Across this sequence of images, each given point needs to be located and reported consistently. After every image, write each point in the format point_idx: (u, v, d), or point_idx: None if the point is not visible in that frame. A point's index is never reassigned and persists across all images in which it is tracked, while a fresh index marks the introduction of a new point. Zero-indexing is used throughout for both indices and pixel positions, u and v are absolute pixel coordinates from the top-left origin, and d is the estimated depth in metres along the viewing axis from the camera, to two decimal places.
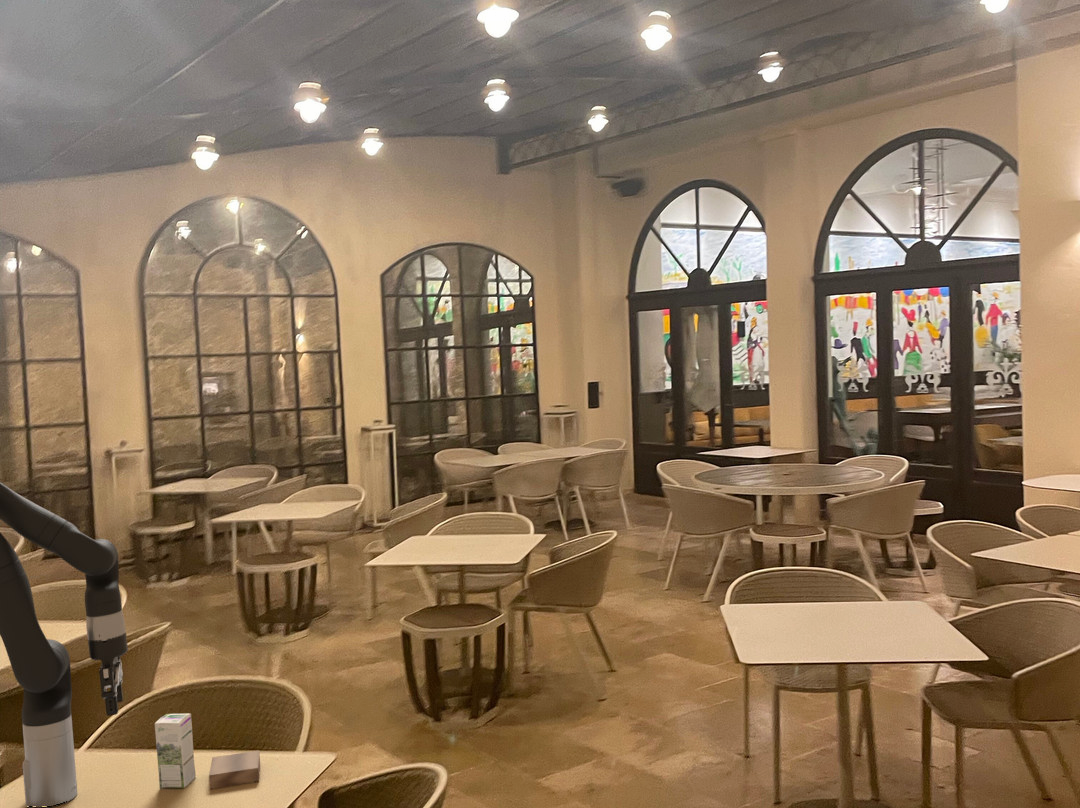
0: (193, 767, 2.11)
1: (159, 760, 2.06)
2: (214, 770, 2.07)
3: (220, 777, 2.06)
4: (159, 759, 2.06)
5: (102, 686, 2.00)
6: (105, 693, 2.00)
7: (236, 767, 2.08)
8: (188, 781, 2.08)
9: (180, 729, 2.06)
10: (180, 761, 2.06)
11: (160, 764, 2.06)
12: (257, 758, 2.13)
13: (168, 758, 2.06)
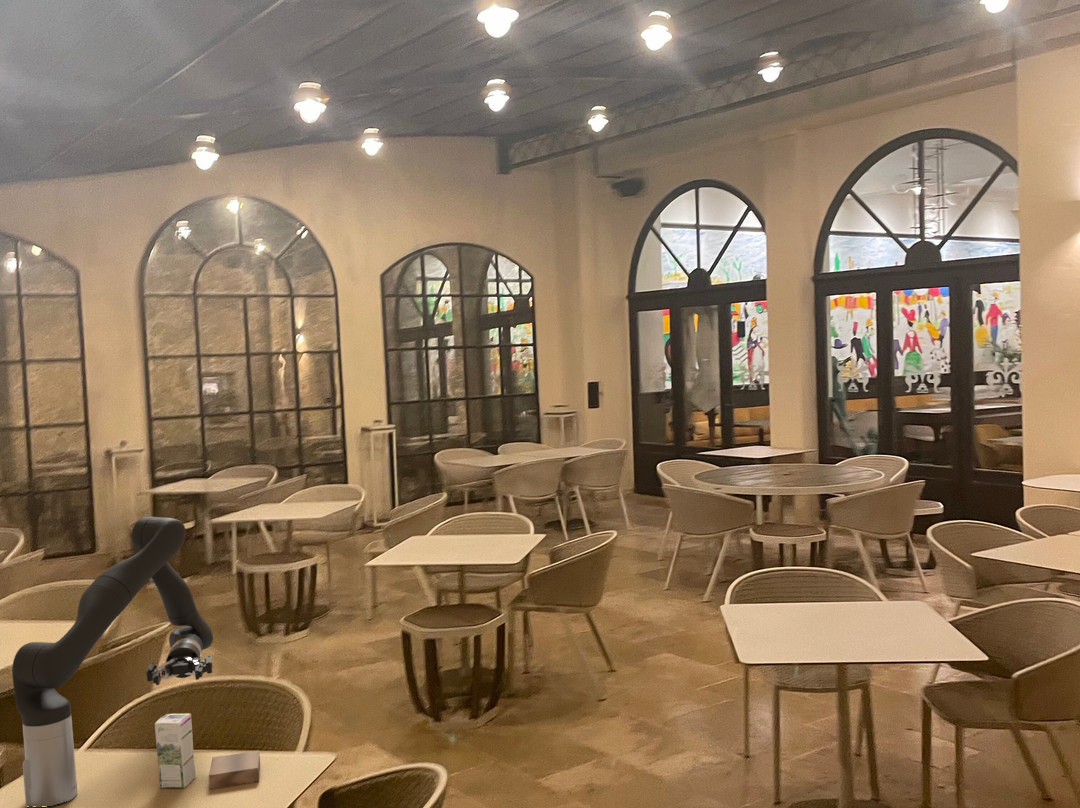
0: (193, 767, 2.11)
1: (159, 760, 2.06)
2: (214, 770, 2.07)
3: (220, 777, 2.06)
4: (160, 759, 2.06)
5: (211, 660, 2.27)
6: None
7: (236, 767, 2.08)
8: (188, 781, 2.08)
9: (180, 729, 2.06)
10: (180, 761, 2.06)
11: (160, 764, 2.06)
12: (257, 758, 2.13)
13: (168, 758, 2.06)
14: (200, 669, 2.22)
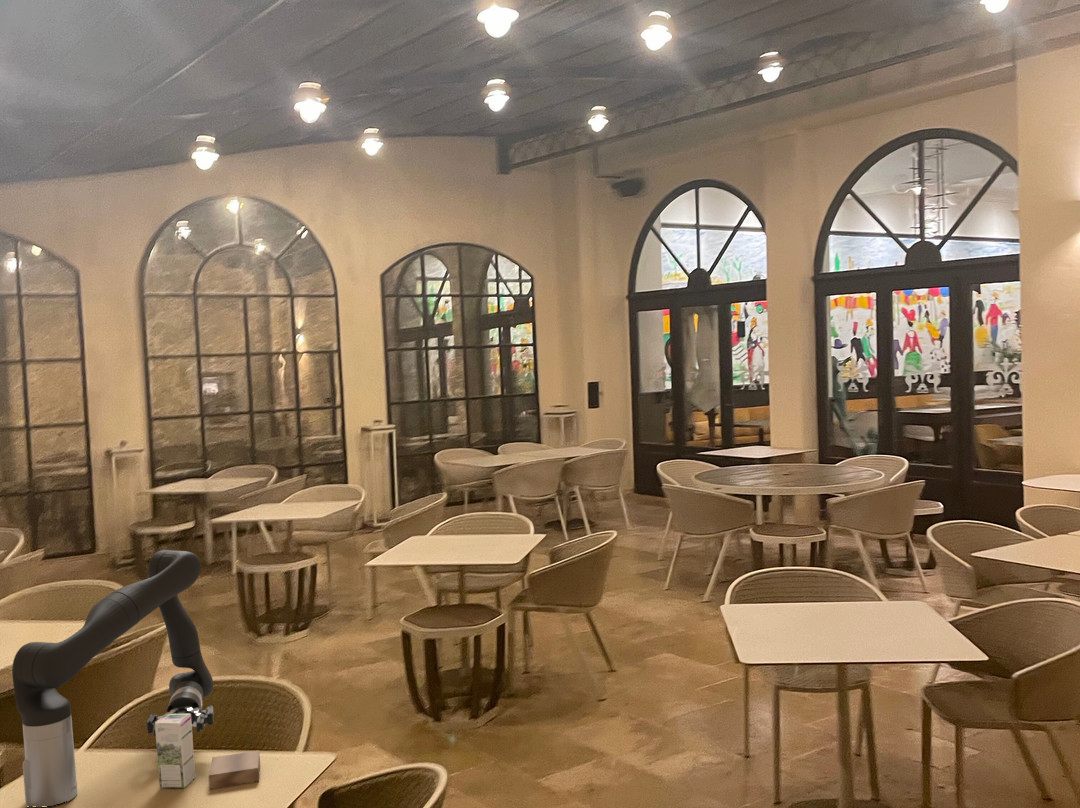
0: (193, 767, 2.11)
1: (159, 760, 2.06)
2: (214, 770, 2.07)
3: (220, 777, 2.06)
4: (160, 759, 2.06)
5: (212, 711, 2.24)
6: None
7: (236, 767, 2.08)
8: (188, 781, 2.08)
9: (180, 729, 2.06)
10: (180, 761, 2.06)
11: (160, 764, 2.06)
12: (257, 758, 2.13)
13: (168, 758, 2.06)
14: (201, 721, 2.19)
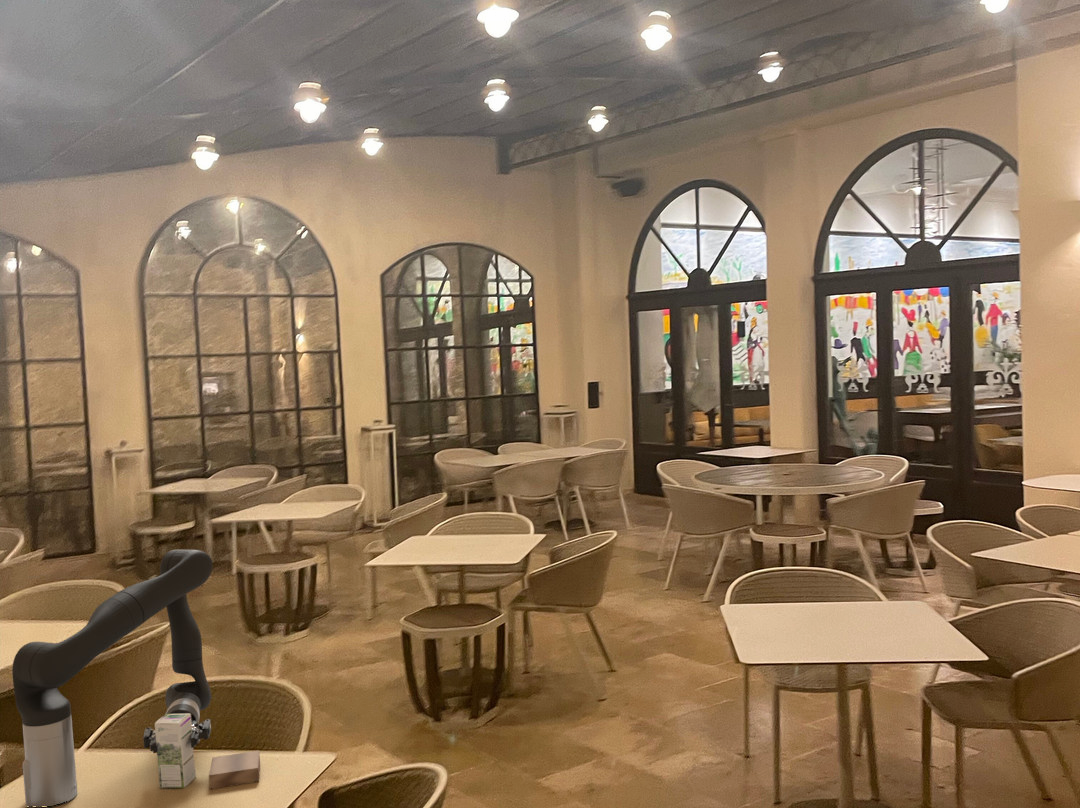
0: (193, 767, 2.11)
1: (159, 760, 2.06)
2: (214, 770, 2.07)
3: (220, 777, 2.06)
4: (159, 759, 2.06)
5: (208, 725, 2.15)
6: None
7: (236, 767, 2.08)
8: (188, 781, 2.08)
9: (180, 729, 2.06)
10: (180, 761, 2.06)
11: (160, 764, 2.06)
12: (257, 758, 2.13)
13: (168, 758, 2.06)
14: (196, 736, 2.10)
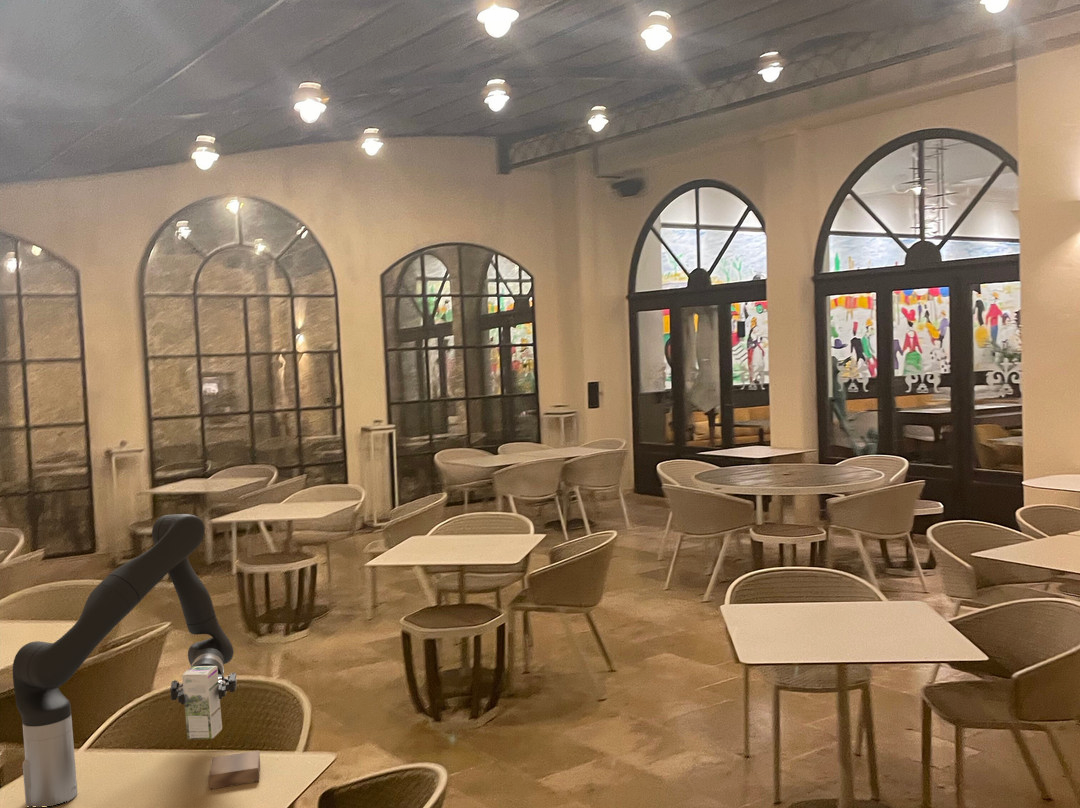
0: (220, 719, 2.12)
1: (187, 711, 2.07)
2: (214, 770, 2.07)
3: (220, 777, 2.06)
4: (187, 711, 2.07)
5: (235, 678, 2.16)
6: None
7: (236, 767, 2.08)
8: (215, 732, 2.09)
9: (208, 680, 2.07)
10: (208, 712, 2.07)
11: (188, 715, 2.08)
12: (257, 758, 2.13)
13: (196, 709, 2.07)
14: (223, 688, 2.11)
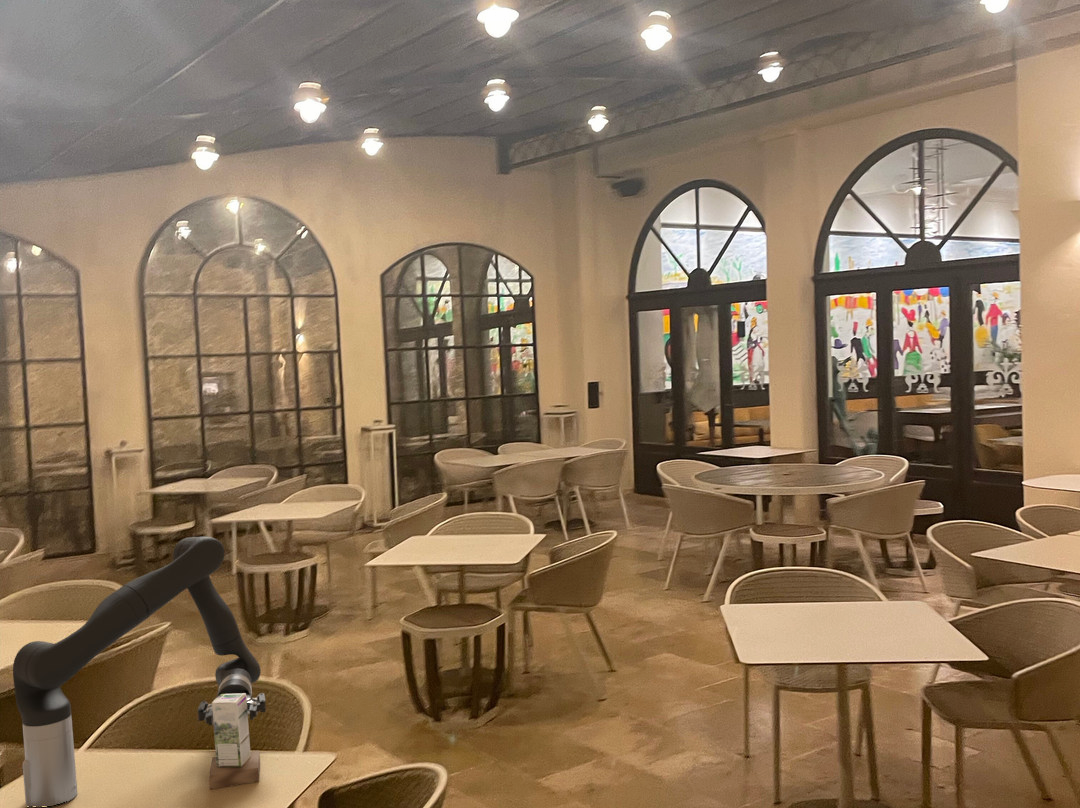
0: (248, 746, 2.13)
1: (216, 739, 2.08)
2: (214, 770, 2.07)
3: (220, 777, 2.06)
4: (217, 738, 2.08)
5: (264, 698, 2.17)
6: None
7: (236, 767, 2.08)
8: (244, 760, 2.10)
9: (237, 708, 2.08)
10: (237, 740, 2.08)
11: (217, 743, 2.08)
12: (257, 758, 2.13)
13: (226, 737, 2.08)
14: (254, 708, 2.12)
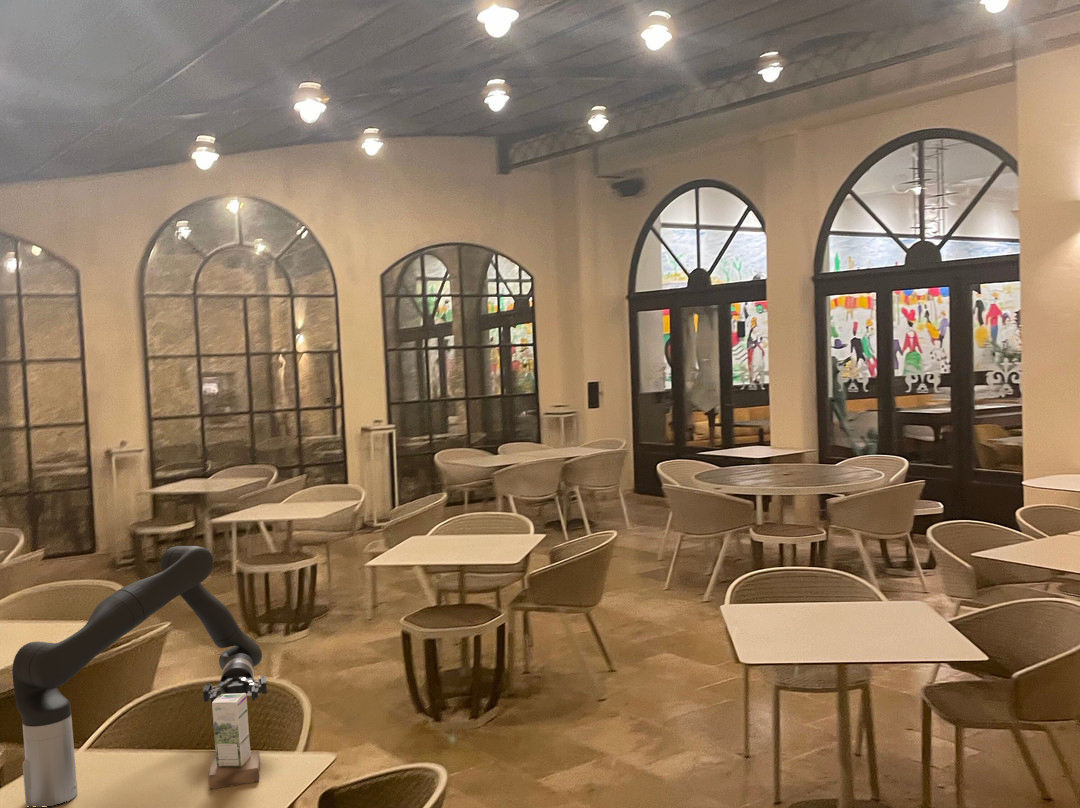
0: (248, 746, 2.13)
1: (216, 739, 2.08)
2: (214, 770, 2.07)
3: (220, 777, 2.06)
4: (217, 738, 2.08)
5: None
6: None
7: (236, 767, 2.08)
8: (244, 760, 2.10)
9: (237, 708, 2.08)
10: (237, 740, 2.08)
11: (217, 743, 2.08)
12: (257, 758, 2.13)
13: (225, 737, 2.08)
14: (256, 690, 2.24)
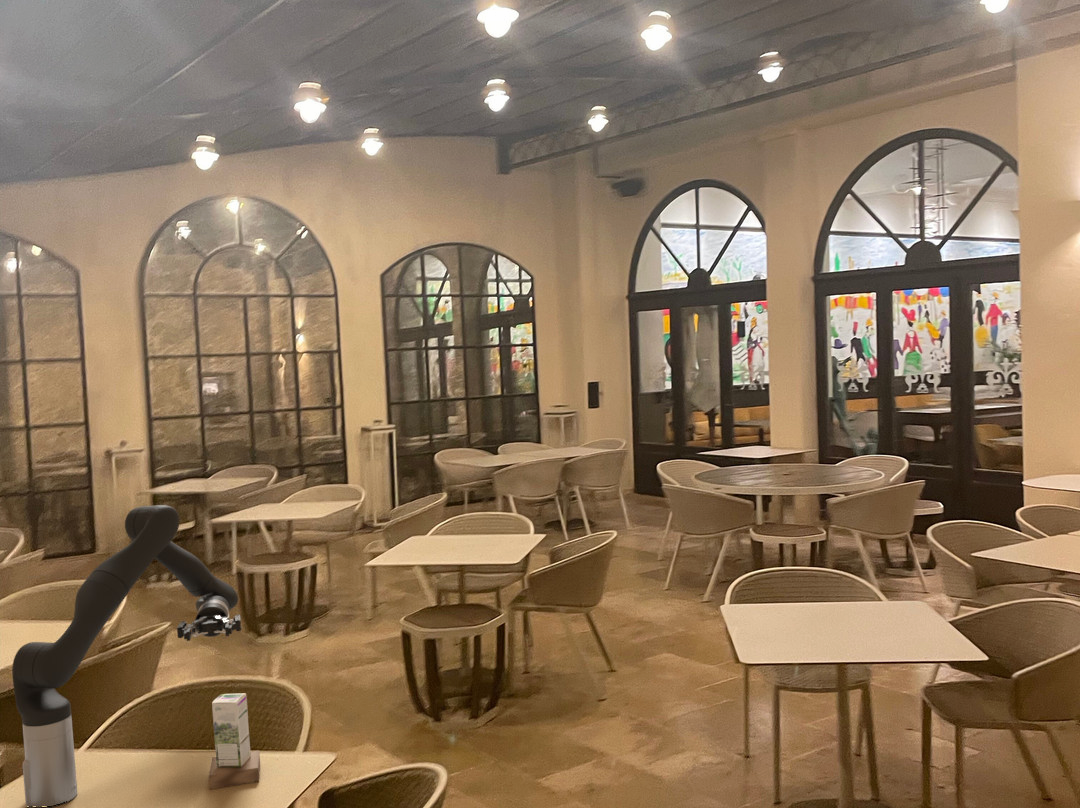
0: (248, 746, 2.13)
1: (216, 739, 2.08)
2: (214, 770, 2.07)
3: (220, 777, 2.06)
4: (217, 738, 2.08)
5: (240, 619, 2.32)
6: None
7: (236, 767, 2.08)
8: (244, 760, 2.10)
9: (237, 708, 2.08)
10: (237, 740, 2.08)
11: (217, 743, 2.08)
12: (257, 758, 2.13)
13: (226, 737, 2.08)
14: (230, 626, 2.26)
